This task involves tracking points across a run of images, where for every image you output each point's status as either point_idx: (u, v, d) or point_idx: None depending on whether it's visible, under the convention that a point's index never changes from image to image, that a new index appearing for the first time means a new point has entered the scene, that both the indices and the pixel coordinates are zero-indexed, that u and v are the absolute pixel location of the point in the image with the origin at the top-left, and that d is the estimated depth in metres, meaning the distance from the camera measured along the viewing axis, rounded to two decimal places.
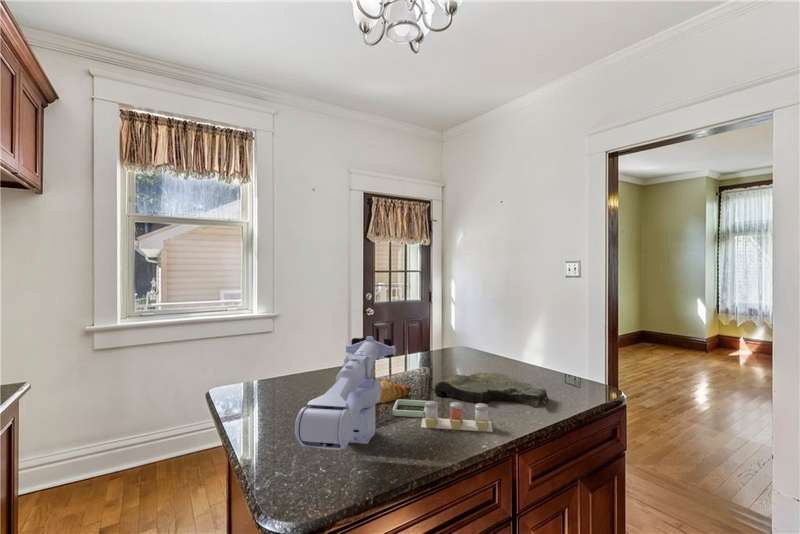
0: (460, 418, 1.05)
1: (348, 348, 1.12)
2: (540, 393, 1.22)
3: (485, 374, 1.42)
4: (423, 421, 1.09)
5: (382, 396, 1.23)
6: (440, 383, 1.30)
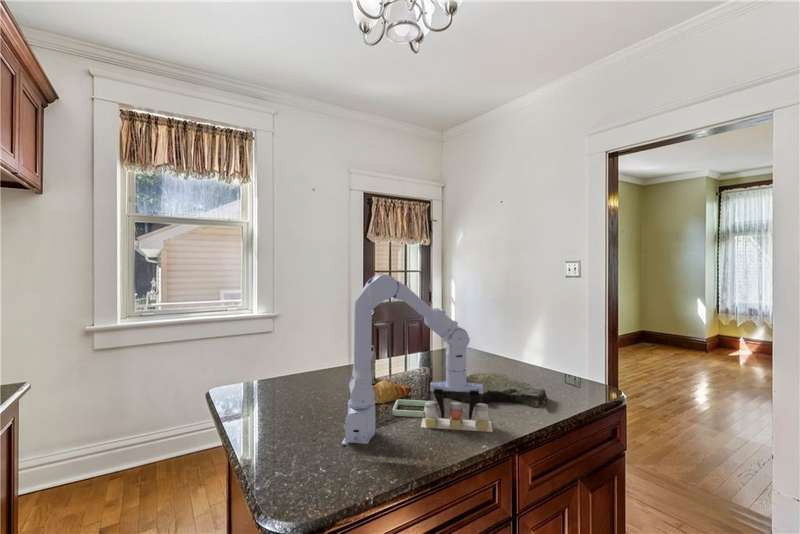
0: (460, 418, 1.05)
1: None
2: (540, 393, 1.22)
3: (484, 374, 1.41)
4: (423, 421, 1.09)
5: (381, 396, 1.23)
6: None
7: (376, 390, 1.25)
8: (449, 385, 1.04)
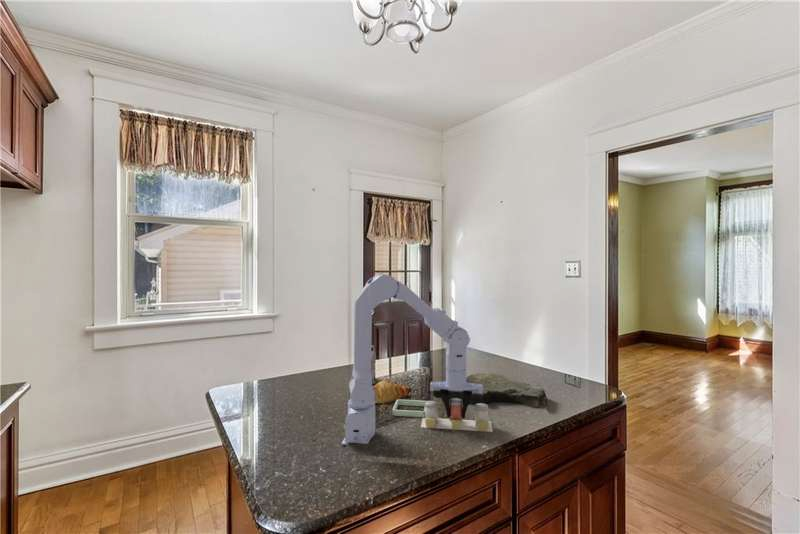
0: (460, 414, 1.05)
1: None
2: (540, 393, 1.21)
3: (483, 375, 1.41)
4: (423, 421, 1.09)
5: (381, 396, 1.23)
6: None
7: (376, 390, 1.24)
8: (449, 385, 1.04)
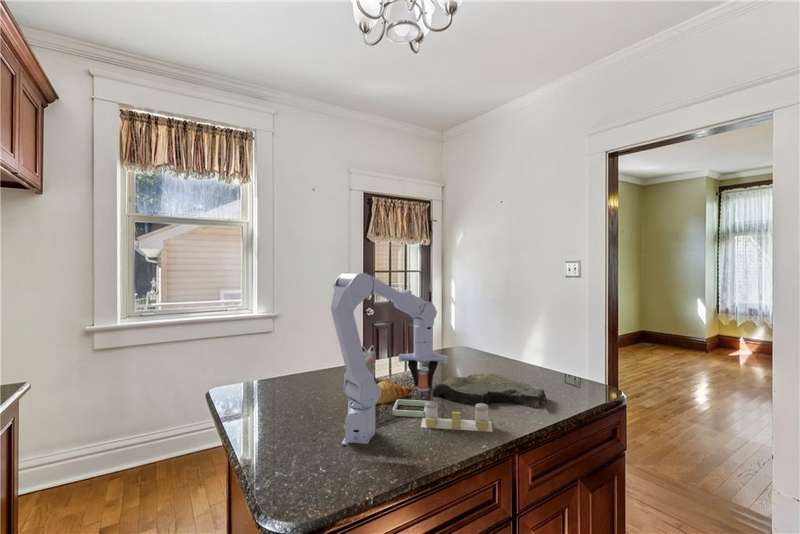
0: (426, 383, 1.13)
1: None
2: (540, 393, 1.21)
3: (482, 375, 1.40)
4: (423, 421, 1.09)
5: (381, 396, 1.23)
6: (438, 386, 1.28)
7: None
8: (416, 355, 1.12)
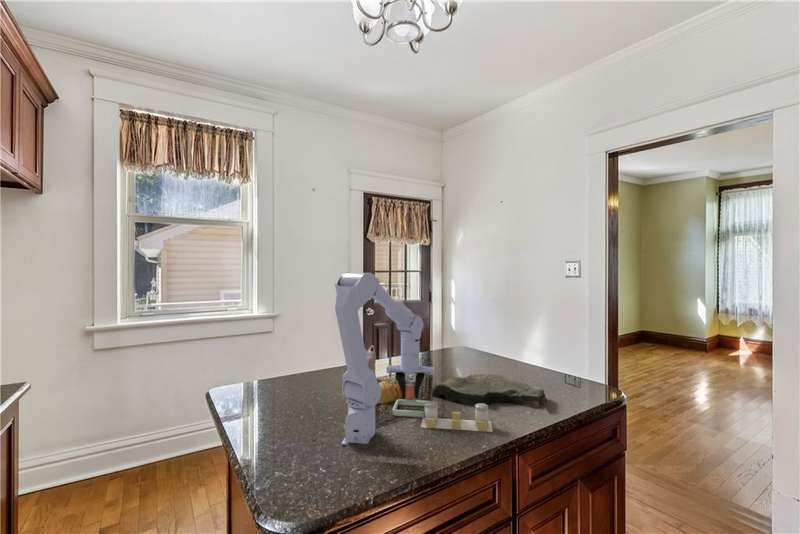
0: (413, 394, 1.15)
1: None
2: (540, 394, 1.21)
3: (481, 375, 1.40)
4: (423, 421, 1.09)
5: (381, 397, 1.23)
6: (438, 386, 1.27)
7: None
8: (403, 367, 1.14)
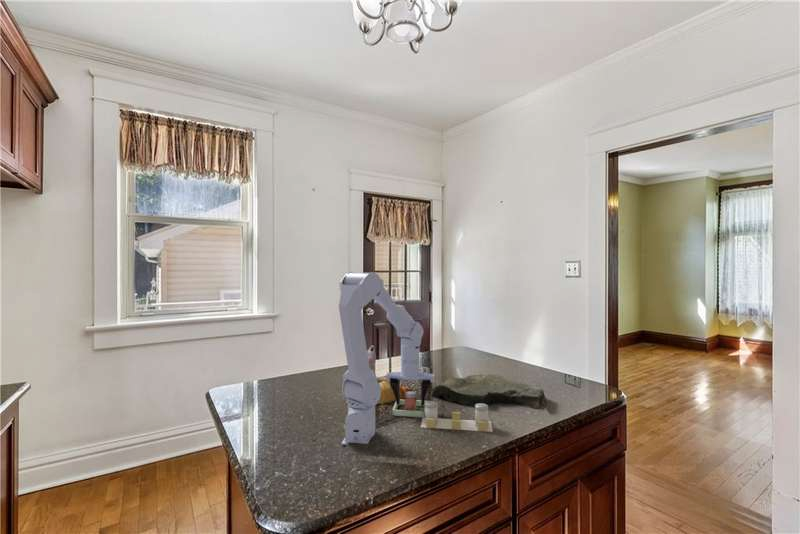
0: (413, 406, 1.15)
1: None
2: (540, 394, 1.21)
3: (480, 376, 1.40)
4: (423, 421, 1.09)
5: (381, 397, 1.22)
6: (438, 387, 1.26)
7: None
8: (403, 374, 1.14)
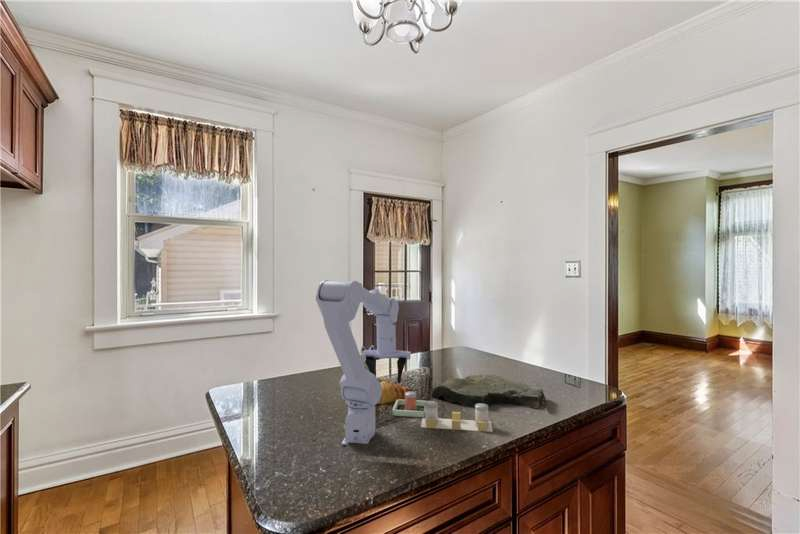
0: (413, 406, 1.15)
1: None
2: (539, 394, 1.21)
3: (479, 376, 1.39)
4: (423, 421, 1.09)
5: None
6: (438, 388, 1.26)
7: None
8: (378, 352, 1.13)
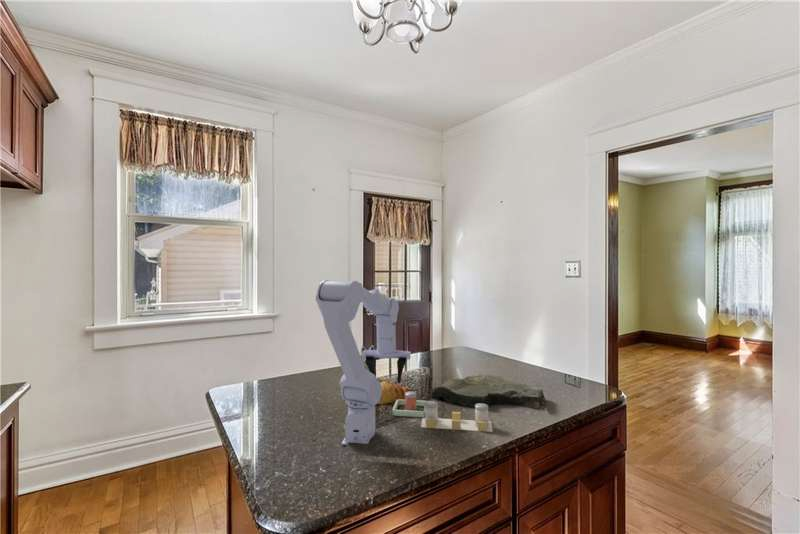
0: (413, 406, 1.15)
1: None
2: (539, 394, 1.21)
3: (478, 376, 1.39)
4: (423, 421, 1.09)
5: None
6: (437, 388, 1.25)
7: None
8: (378, 352, 1.13)
